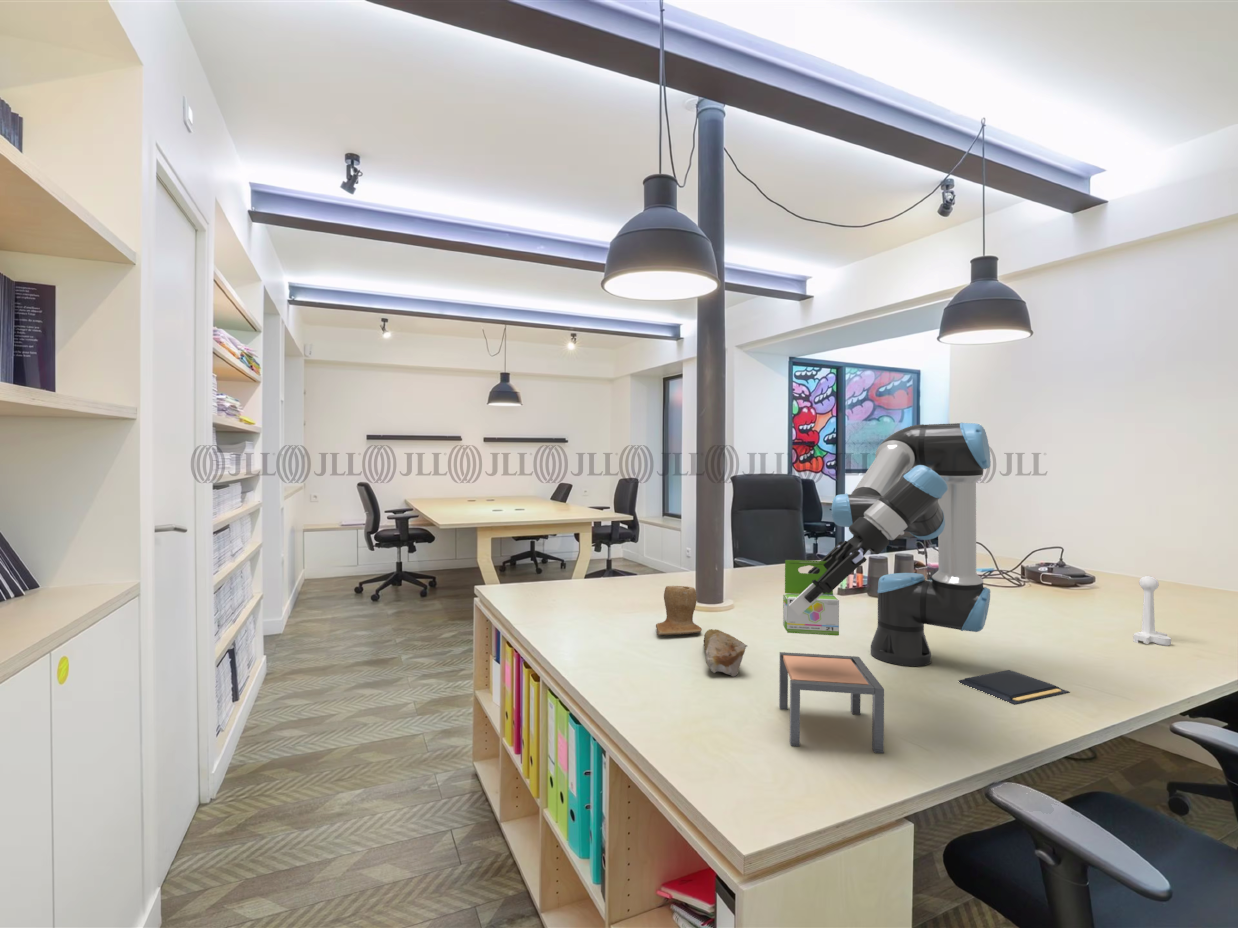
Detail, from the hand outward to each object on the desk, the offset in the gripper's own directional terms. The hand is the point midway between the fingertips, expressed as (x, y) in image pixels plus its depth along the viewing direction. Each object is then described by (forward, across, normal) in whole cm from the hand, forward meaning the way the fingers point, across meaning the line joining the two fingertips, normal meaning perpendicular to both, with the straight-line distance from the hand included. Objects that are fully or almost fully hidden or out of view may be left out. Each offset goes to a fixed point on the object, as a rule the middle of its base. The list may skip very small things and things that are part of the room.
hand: (791, 606), depth 117 cm
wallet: (-22, +30, -58) cm, 69 cm away
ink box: (+1, 0, -6) cm, 6 cm away
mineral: (+27, +37, -8) cm, 47 cm away
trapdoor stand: (+13, 0, -22) cm, 25 cm away
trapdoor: (+4, 0, -13) cm, 14 cm away
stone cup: (+36, +61, +1) cm, 70 cm away
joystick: (-67, +75, -102) cm, 143 cm away
